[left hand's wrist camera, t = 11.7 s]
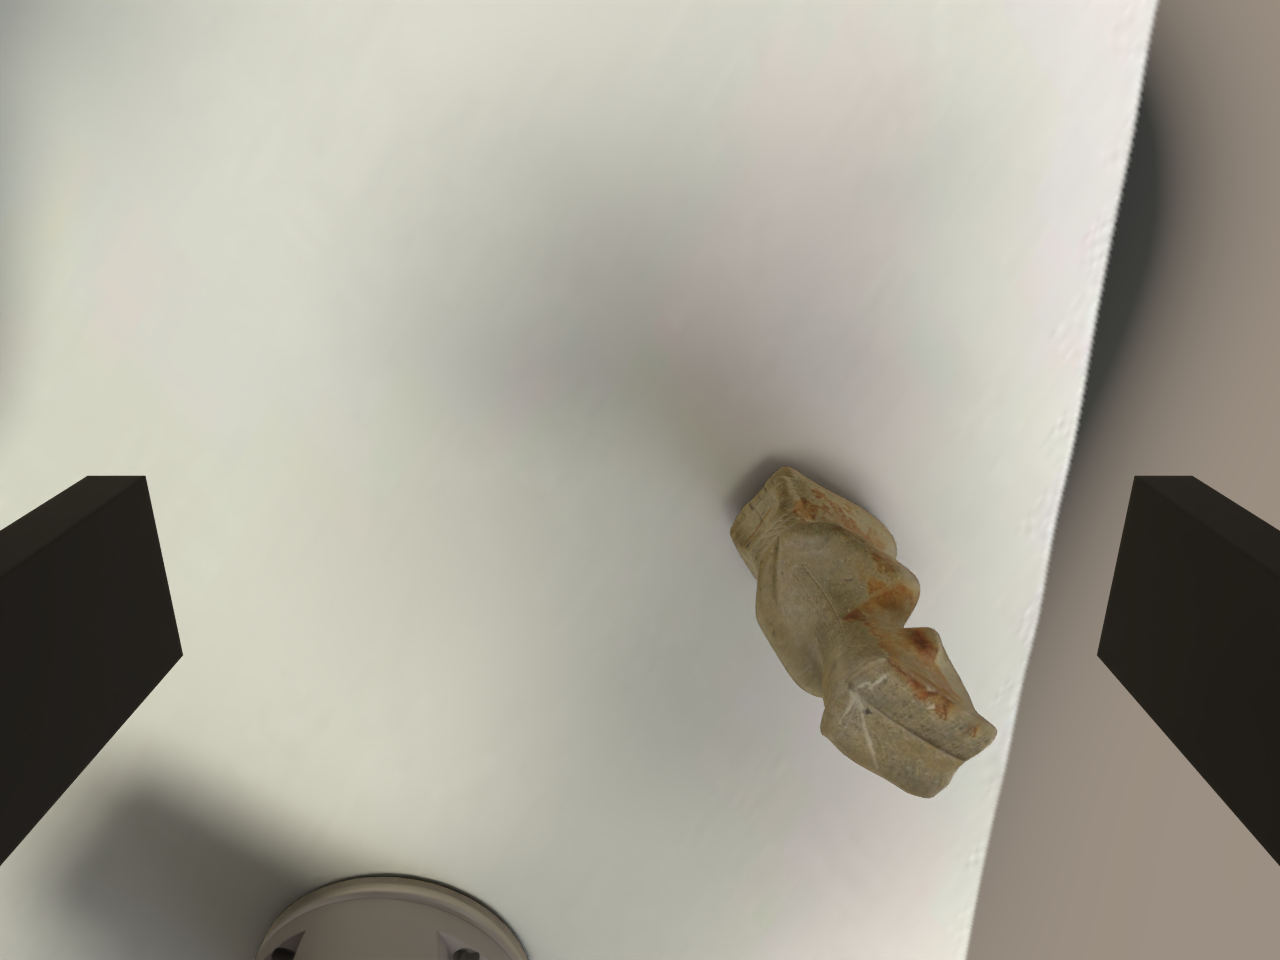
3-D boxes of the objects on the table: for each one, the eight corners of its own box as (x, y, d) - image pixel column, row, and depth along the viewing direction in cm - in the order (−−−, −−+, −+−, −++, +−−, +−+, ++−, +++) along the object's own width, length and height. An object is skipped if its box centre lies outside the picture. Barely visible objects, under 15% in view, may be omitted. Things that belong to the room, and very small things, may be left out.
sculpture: (817, 612, 42) (905, 850, 28) (701, 520, 41) (734, 725, 27) (908, 524, 41) (1048, 732, 27) (792, 425, 39) (877, 591, 25)
